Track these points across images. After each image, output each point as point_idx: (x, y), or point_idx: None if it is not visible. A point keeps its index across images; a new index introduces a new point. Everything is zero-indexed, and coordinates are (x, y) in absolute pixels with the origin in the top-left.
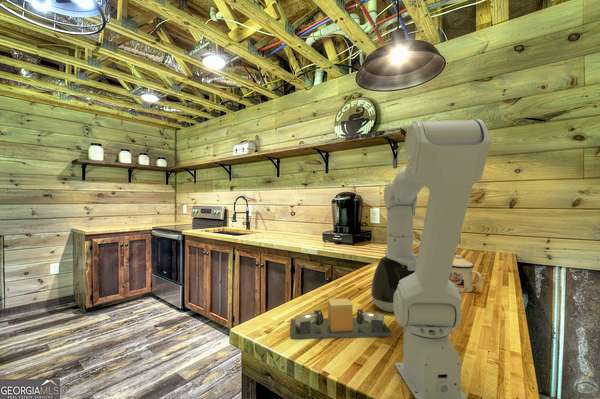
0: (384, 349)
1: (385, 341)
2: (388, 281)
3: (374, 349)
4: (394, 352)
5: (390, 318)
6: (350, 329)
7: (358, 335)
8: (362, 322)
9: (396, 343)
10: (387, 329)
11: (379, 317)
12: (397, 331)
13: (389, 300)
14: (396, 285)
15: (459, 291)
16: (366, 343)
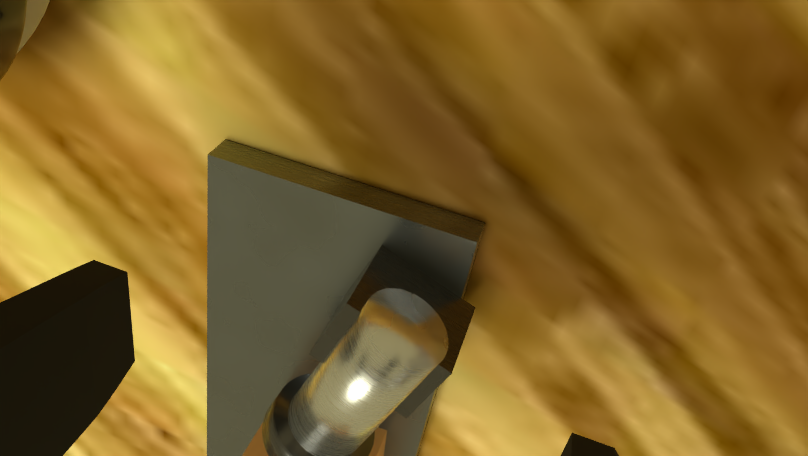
0: (628, 367)
1: (535, 299)
2: (53, 453)
3: (601, 412)
4: (691, 341)
5: (176, 15)
6: (382, 445)
7: (430, 409)
8: (284, 320)
9: (589, 253)
10: (426, 238)
11: (409, 387)
12: (418, 121)
13: (8, 35)
14: (92, 328)
15: None
16: (517, 405)
